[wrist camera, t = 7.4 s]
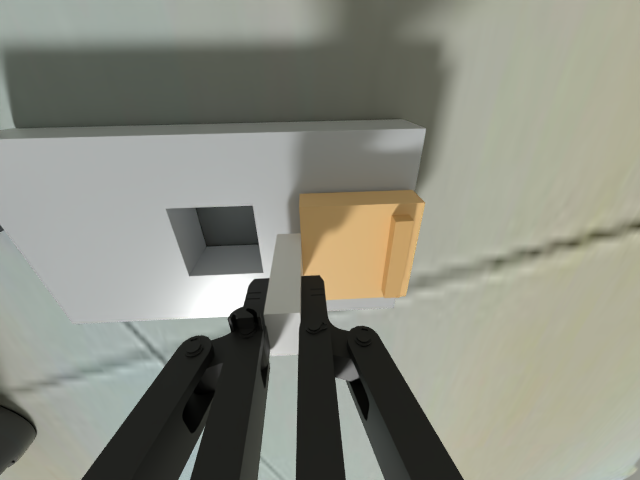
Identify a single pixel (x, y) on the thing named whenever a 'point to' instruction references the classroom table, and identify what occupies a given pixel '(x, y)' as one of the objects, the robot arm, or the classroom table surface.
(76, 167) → the socket board
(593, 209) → the classroom table surface
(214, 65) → the classroom table surface
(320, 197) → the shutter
